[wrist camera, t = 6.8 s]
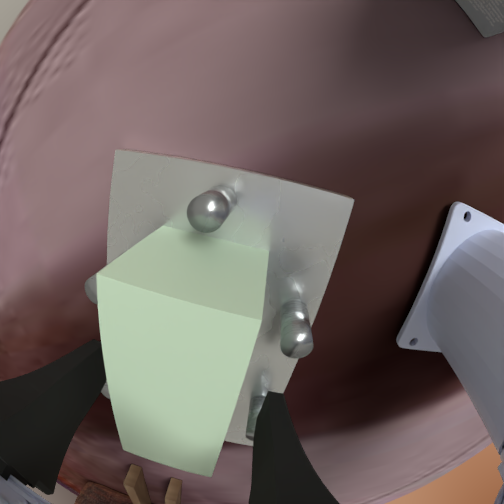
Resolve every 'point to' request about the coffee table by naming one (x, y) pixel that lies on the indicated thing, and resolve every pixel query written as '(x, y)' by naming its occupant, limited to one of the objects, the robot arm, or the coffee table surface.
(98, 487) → the wooden tablet
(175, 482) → the tablet cradle
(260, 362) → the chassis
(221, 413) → the pale green block
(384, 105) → the coffee table surface
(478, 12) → the hard drive box
